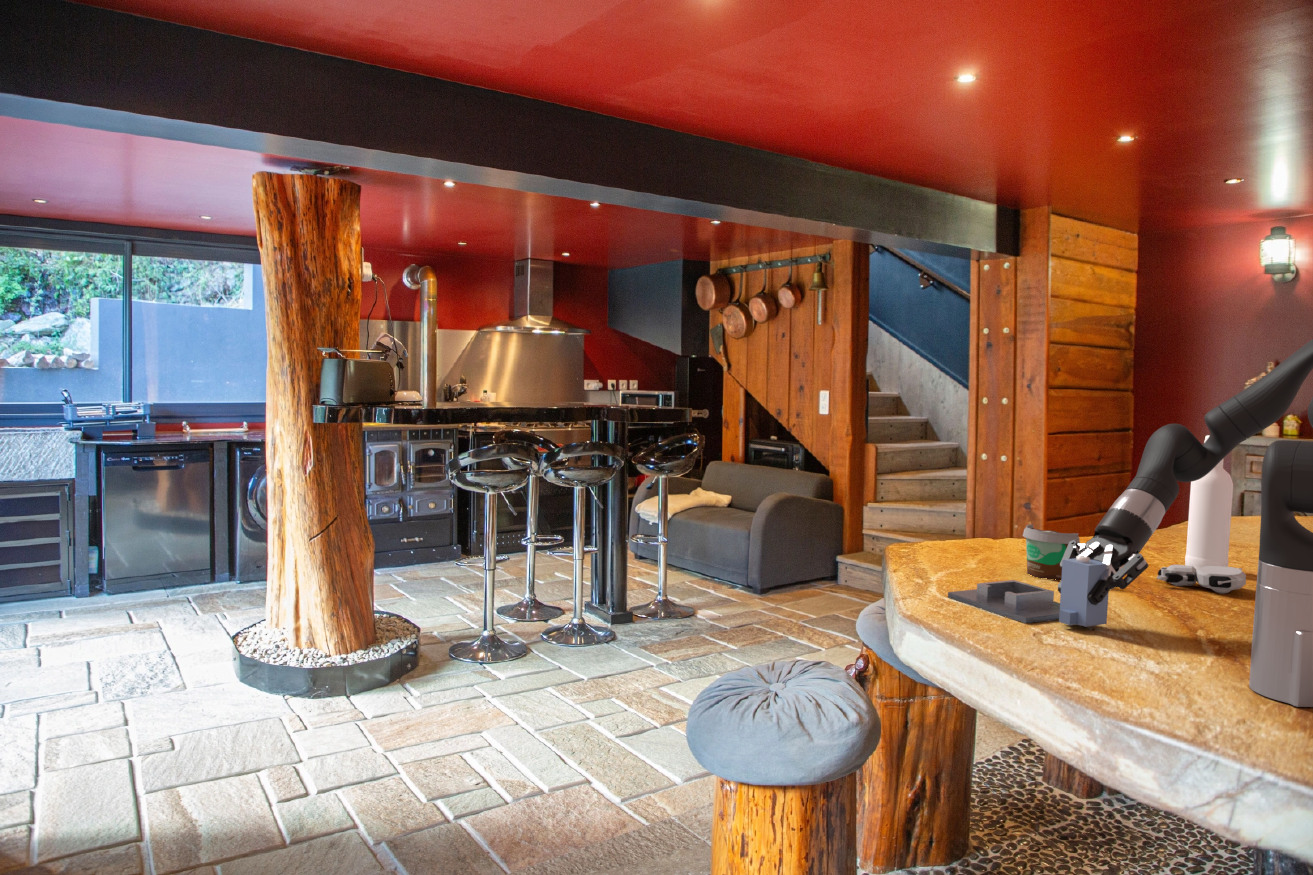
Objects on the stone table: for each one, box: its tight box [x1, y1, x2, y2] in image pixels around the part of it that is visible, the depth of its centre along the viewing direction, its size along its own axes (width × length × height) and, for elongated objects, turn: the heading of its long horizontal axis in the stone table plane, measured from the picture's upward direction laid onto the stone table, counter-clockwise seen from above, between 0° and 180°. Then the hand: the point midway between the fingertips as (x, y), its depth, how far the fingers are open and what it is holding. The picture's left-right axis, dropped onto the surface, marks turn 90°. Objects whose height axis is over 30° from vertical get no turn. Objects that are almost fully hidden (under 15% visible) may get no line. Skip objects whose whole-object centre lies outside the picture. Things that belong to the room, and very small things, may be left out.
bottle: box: [1184, 434, 1234, 570], centre depth 187 cm, size 8×8×30 cm
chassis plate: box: [947, 579, 1060, 624], centre depth 152 cm, size 18×14×4 cm
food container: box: [1022, 524, 1081, 581], centre depth 178 cm, size 12×6×10 cm, turn 25°
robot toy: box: [1156, 564, 1247, 594], centre depth 172 cm, size 12×4×15 cm
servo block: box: [1058, 556, 1110, 627], centre depth 140 cm, size 5×7×11 cm
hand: (1076, 597), depth 140 cm, fingers closed on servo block, 5 cm apart
